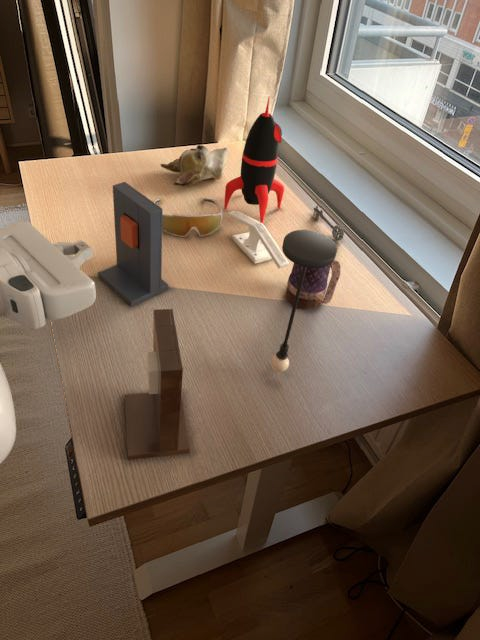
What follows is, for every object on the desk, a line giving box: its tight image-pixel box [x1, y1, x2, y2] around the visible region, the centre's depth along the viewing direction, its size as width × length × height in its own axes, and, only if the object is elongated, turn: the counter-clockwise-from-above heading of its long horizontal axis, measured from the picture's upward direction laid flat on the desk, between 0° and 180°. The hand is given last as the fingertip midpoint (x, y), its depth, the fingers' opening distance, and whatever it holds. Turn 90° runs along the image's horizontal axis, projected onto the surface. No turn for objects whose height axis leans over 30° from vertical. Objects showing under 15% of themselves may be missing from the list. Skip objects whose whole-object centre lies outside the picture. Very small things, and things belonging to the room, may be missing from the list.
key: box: [312, 205, 345, 242], centre depth 112 cm, size 12×1×3 cm, turn 24°
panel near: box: [124, 308, 191, 461], centre depth 66 cm, size 8×10×17 cm
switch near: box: [146, 350, 158, 394], centre depth 64 cm, size 1×3×4 cm, turn 12°
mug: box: [285, 259, 342, 310], centre depth 90 cm, size 10×7×12 cm
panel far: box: [97, 181, 169, 307], centre depth 87 cm, size 8×10×17 cm
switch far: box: [120, 215, 138, 249], centre depth 85 cm, size 1×3×4 cm, turn 44°
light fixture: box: [271, 229, 338, 373], centre depth 72 cm, size 7×7×25 cm
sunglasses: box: [153, 198, 223, 238], centre depth 109 cm, size 14×15×5 cm
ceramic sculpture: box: [160, 144, 229, 188], centre depth 120 cm, size 11×9×15 cm
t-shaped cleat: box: [227, 210, 290, 269], centre depth 103 cm, size 4×20×5 cm, turn 30°
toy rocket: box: [223, 97, 285, 224], centre depth 108 cm, size 10×10×25 cm
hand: (88, 248), depth 81 cm, fingers closed
